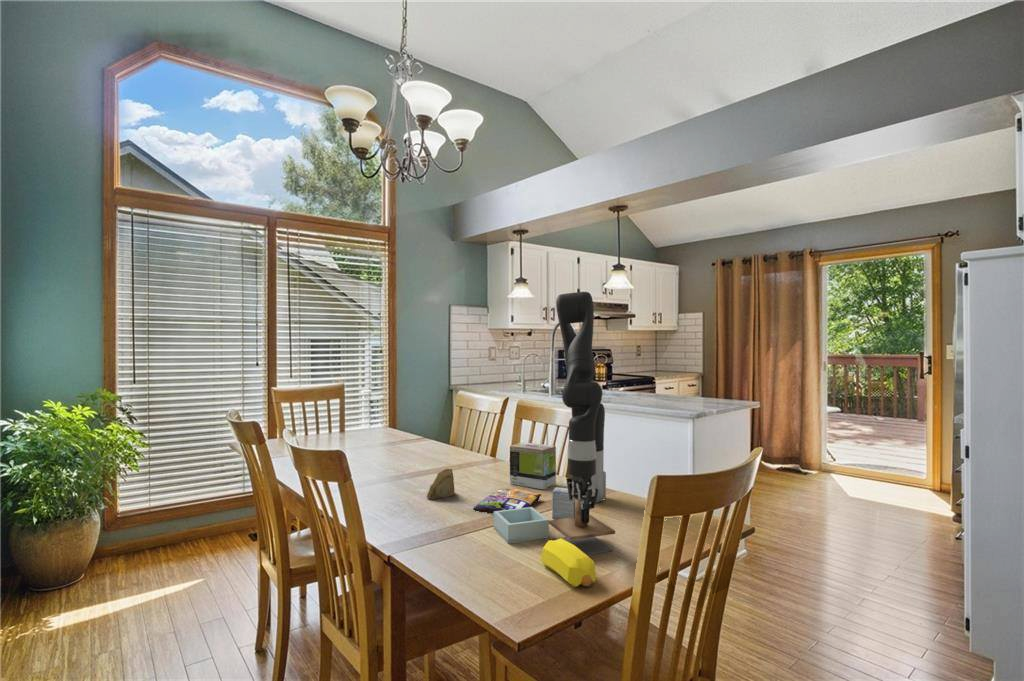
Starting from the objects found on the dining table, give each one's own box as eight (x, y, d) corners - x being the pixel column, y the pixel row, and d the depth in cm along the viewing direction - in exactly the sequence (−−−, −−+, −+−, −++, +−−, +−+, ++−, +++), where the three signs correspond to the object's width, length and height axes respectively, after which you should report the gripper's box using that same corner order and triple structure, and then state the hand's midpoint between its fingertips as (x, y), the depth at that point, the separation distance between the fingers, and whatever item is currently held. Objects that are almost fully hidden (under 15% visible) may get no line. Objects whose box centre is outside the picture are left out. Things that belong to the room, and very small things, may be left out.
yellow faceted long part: (561, 557, 136) (535, 562, 133) (561, 530, 136) (535, 535, 133) (603, 587, 120) (574, 594, 117) (603, 557, 120) (574, 563, 117)
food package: (550, 502, 183) (550, 489, 183) (519, 525, 161) (519, 511, 161) (493, 493, 193) (493, 481, 193) (456, 514, 170) (456, 501, 170)
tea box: (556, 484, 202) (556, 445, 202) (543, 490, 194) (543, 449, 194) (522, 478, 211) (522, 440, 210) (508, 484, 202) (509, 445, 202)
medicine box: (580, 517, 166) (580, 489, 166) (577, 521, 162) (577, 493, 161) (555, 514, 168) (555, 486, 168) (552, 518, 164) (552, 490, 164)
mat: (590, 534, 151) (590, 533, 151) (612, 550, 140) (612, 549, 140) (551, 540, 147) (551, 538, 147) (571, 557, 135) (571, 555, 135)
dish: (531, 523, 160) (531, 506, 160) (548, 537, 149) (548, 519, 148) (493, 528, 155) (493, 511, 155) (508, 543, 144) (508, 525, 144)
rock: (425, 495, 179) (455, 490, 181) (423, 472, 184) (452, 467, 186) (428, 506, 188) (456, 501, 189) (426, 483, 193) (453, 479, 194)
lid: (590, 518, 151) (590, 490, 151) (615, 533, 139) (615, 503, 139) (548, 523, 147) (549, 495, 147) (570, 540, 135) (570, 509, 135)
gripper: (607, 460, 138) (607, 527, 138) (581, 450, 151) (581, 511, 151) (581, 463, 135) (581, 531, 135) (557, 451, 148) (557, 514, 148)
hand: (581, 520), depth 143 cm, fingers closed on lid, 3 cm apart
